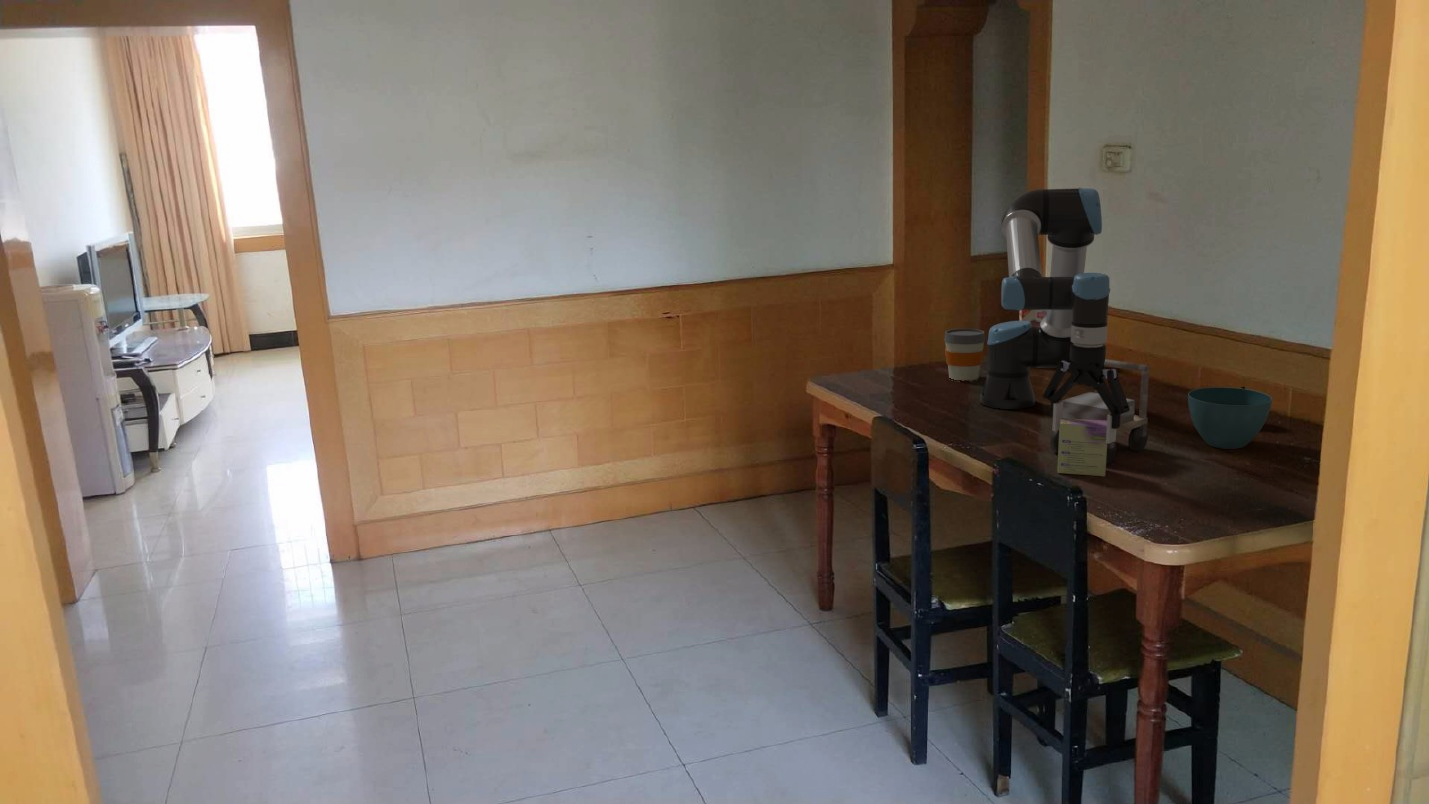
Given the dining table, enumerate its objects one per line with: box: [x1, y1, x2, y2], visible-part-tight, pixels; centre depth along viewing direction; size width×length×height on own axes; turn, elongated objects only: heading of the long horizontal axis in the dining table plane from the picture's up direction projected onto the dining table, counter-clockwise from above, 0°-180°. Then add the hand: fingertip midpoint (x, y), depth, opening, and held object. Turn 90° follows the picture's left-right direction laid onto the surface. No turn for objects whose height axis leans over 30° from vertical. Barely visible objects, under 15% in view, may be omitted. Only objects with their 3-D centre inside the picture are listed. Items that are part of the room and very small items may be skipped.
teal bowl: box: [1187, 386, 1273, 450], centre depth 255 cm, size 18×18×12 cm
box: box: [1057, 418, 1107, 478], centre depth 239 cm, size 10×6×12 cm, turn 71°
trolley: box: [1049, 358, 1151, 465], centre depth 252 cm, size 15×20×21 cm
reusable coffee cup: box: [943, 328, 986, 381], centre depth 333 cm, size 13×12×15 cm
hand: (1083, 436), depth 238 cm, fingers open, 13 cm apart
